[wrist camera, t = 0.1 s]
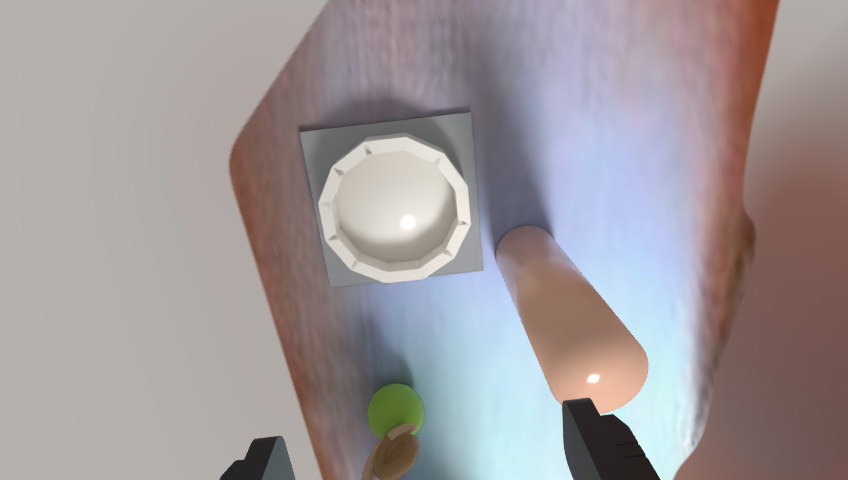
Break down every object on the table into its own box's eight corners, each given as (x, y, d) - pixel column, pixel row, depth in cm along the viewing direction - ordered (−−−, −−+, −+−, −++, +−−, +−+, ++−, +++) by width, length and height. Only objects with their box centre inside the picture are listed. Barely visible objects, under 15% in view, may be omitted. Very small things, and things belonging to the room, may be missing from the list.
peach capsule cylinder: (556, 278, 44) (645, 409, 27) (497, 284, 44) (549, 419, 27) (555, 221, 42) (650, 324, 25) (493, 228, 42) (547, 335, 25)
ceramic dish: (471, 261, 43) (474, 273, 41) (339, 276, 43) (334, 289, 41) (460, 126, 39) (463, 130, 36) (313, 143, 39) (307, 148, 37)
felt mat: (482, 268, 44) (483, 270, 43) (330, 285, 44) (330, 287, 44) (470, 111, 39) (471, 112, 39) (300, 131, 39) (299, 132, 39)
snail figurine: (351, 397, 48) (332, 498, 37) (400, 362, 47) (395, 455, 36) (386, 430, 50) (378, 537, 38) (434, 397, 48) (441, 497, 37)
